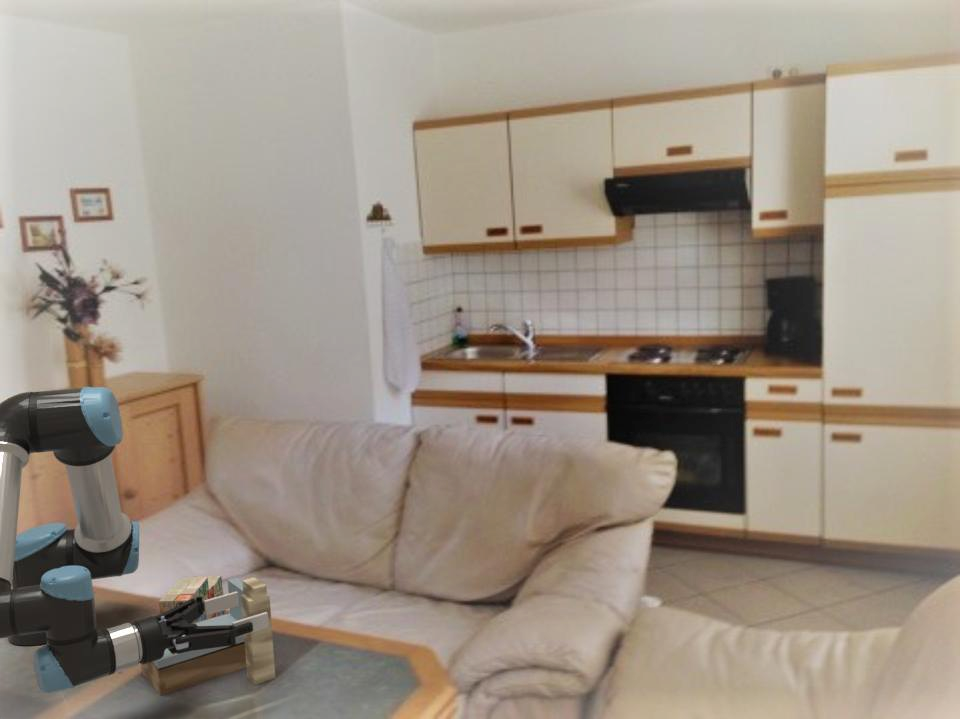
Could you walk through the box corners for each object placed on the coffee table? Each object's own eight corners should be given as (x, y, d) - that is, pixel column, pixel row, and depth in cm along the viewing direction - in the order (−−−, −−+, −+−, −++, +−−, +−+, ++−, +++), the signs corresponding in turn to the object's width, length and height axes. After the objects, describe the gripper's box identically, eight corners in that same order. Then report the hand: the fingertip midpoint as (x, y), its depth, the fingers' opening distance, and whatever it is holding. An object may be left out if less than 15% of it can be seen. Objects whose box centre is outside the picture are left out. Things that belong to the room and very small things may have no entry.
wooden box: (142, 676, 165) (139, 648, 165) (240, 644, 177) (238, 619, 177) (161, 699, 156) (158, 670, 155) (263, 664, 168) (261, 638, 167)
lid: (139, 646, 165) (135, 602, 164) (238, 617, 177) (235, 576, 176) (158, 668, 155) (154, 621, 154) (261, 636, 167) (258, 592, 166)
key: (245, 679, 162) (238, 581, 160) (265, 672, 165) (258, 576, 162) (257, 690, 158) (249, 589, 156) (277, 683, 160) (270, 584, 158)
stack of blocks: (198, 614, 194) (194, 563, 193) (225, 613, 194) (221, 562, 193) (163, 658, 173) (158, 600, 172) (193, 656, 173) (188, 599, 172)
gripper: (116, 641, 156) (227, 608, 169) (161, 690, 137) (282, 649, 150) (113, 602, 155) (224, 572, 168) (157, 646, 136) (279, 608, 149)
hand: (252, 608), depth 159 cm, fingers open, 13 cm apart
